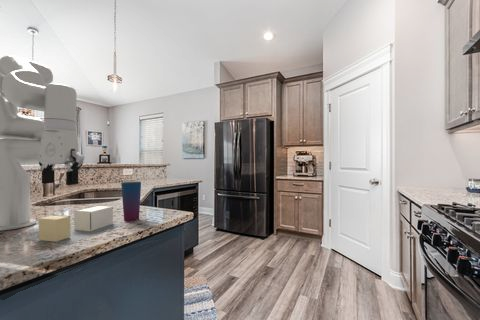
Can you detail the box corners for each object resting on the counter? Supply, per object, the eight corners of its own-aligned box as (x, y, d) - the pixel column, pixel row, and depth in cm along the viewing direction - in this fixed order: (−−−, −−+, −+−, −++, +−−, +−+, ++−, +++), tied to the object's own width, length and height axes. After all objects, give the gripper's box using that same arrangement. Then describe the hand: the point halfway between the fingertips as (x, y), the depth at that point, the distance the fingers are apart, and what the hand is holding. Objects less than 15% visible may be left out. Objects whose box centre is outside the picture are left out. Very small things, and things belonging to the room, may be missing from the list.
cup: (133, 224, 81) (133, 183, 81) (117, 224, 82) (116, 182, 82) (145, 219, 88) (144, 181, 88) (129, 219, 89) (129, 181, 89)
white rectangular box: (74, 229, 73) (74, 211, 73) (98, 222, 81) (98, 205, 82) (90, 231, 71) (90, 211, 71) (113, 223, 80) (112, 206, 80)
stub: (38, 240, 63) (38, 218, 63) (53, 235, 67) (53, 214, 67) (56, 241, 61) (56, 219, 61) (70, 236, 65) (70, 215, 65)
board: (25, 242, 64) (25, 239, 64) (88, 223, 83) (88, 221, 83) (69, 247, 60) (69, 244, 60) (125, 226, 79) (125, 223, 79)
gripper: (25, 125, 66) (24, 184, 66) (69, 124, 62) (69, 186, 62) (52, 129, 73) (52, 181, 74) (94, 127, 69) (93, 184, 69)
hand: (59, 183), depth 68 cm, fingers open, 9 cm apart
